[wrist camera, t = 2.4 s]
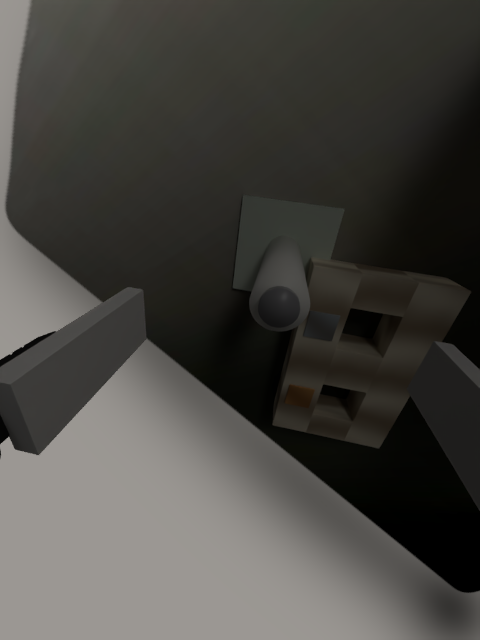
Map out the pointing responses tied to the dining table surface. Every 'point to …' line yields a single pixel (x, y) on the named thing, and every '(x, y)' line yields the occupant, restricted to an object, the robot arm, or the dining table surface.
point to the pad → (282, 233)
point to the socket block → (361, 348)
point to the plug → (280, 287)
